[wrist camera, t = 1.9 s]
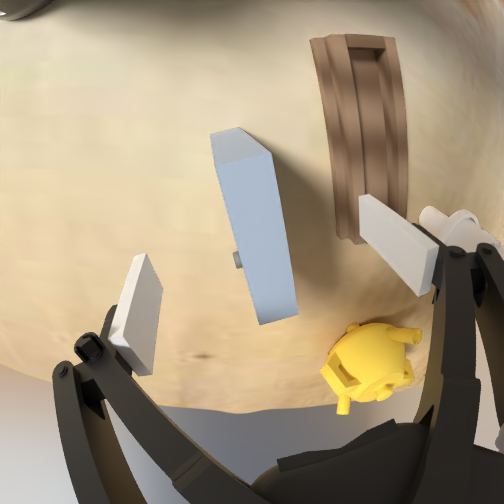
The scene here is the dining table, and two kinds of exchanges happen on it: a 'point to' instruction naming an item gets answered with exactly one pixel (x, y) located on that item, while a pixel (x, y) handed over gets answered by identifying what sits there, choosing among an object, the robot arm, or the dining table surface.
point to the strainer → (457, 229)
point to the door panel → (256, 222)
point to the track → (363, 124)
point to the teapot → (369, 363)
